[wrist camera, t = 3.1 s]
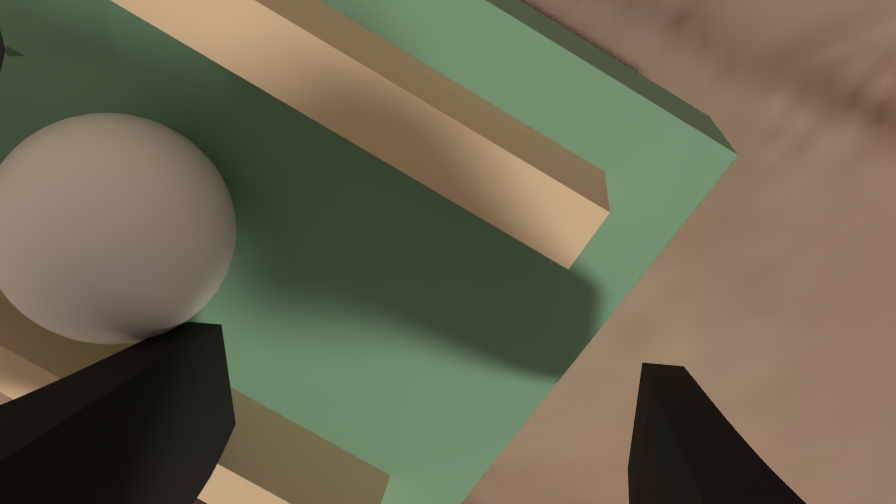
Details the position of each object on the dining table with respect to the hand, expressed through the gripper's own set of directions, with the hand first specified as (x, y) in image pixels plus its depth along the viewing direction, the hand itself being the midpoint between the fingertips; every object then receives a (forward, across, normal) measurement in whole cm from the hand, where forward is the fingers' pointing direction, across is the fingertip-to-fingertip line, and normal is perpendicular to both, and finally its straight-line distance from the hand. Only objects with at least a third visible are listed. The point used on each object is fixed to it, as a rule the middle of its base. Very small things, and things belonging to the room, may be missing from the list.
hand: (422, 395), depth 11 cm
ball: (0, +5, -3) cm, 5 cm away
